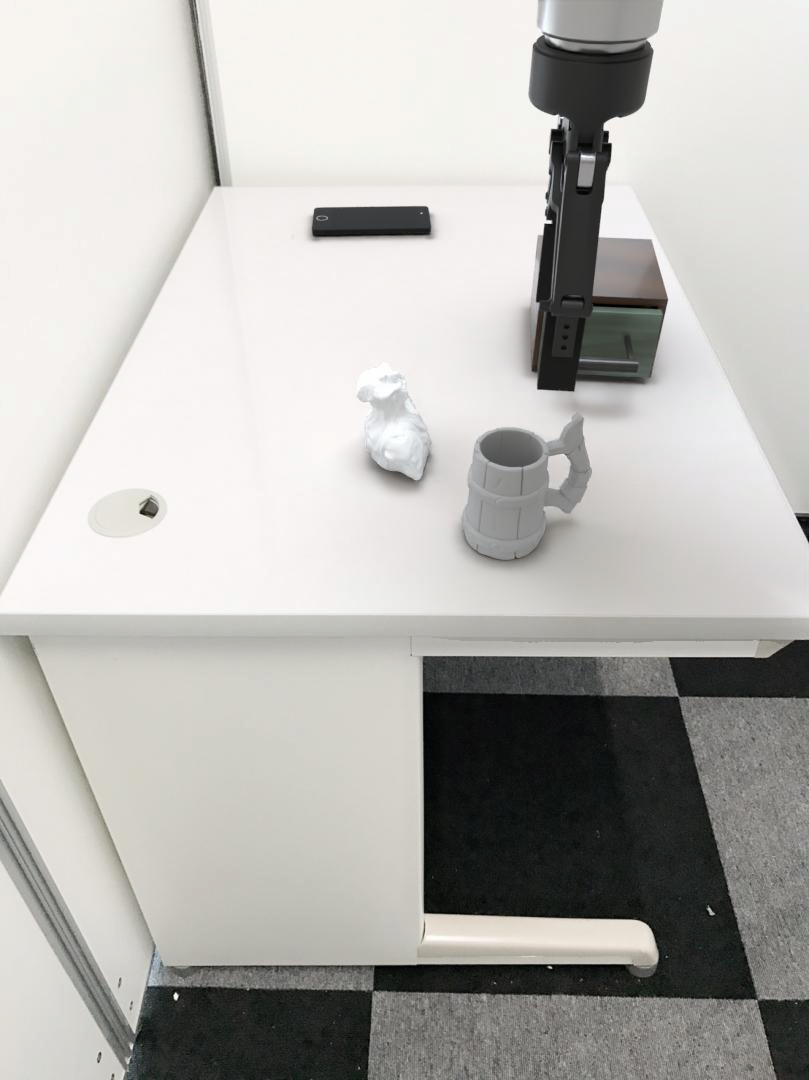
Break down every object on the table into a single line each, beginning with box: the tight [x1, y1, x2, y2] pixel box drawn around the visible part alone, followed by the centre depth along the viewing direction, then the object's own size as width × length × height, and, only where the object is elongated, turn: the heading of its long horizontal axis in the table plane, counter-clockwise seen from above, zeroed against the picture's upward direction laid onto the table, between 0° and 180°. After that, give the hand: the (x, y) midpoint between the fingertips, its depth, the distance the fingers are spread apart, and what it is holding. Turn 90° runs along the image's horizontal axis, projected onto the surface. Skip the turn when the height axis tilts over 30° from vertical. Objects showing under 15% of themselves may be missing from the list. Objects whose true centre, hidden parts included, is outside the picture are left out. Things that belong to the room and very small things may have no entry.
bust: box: [355, 362, 433, 481], centre depth 84 cm, size 12×8×11 cm
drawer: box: [537, 303, 663, 378], centre depth 97 cm, size 21×13×8 cm, turn 174°
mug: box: [461, 411, 593, 561], centre depth 75 cm, size 8×12×12 cm, turn 107°
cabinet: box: [529, 234, 669, 378], centre depth 102 cm, size 16×14×10 cm
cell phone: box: [311, 205, 432, 236], centre depth 131 cm, size 9×18×1 cm, turn 92°
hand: (553, 341), depth 67 cm, fingers open, 13 cm apart
